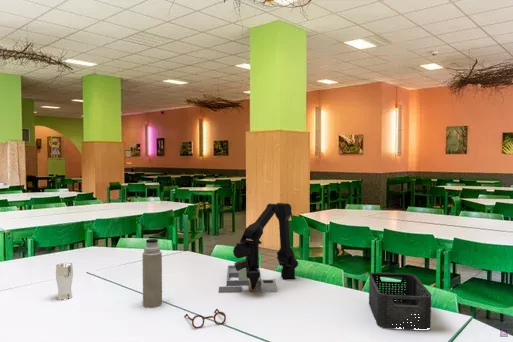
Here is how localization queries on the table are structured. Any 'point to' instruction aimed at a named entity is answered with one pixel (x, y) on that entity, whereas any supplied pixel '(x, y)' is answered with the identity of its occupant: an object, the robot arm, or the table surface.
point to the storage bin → (399, 302)
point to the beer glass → (64, 280)
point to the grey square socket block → (268, 285)
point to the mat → (230, 289)
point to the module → (243, 274)
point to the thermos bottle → (152, 274)
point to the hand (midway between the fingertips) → (252, 287)
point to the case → (234, 273)
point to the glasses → (206, 318)
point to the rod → (251, 288)
